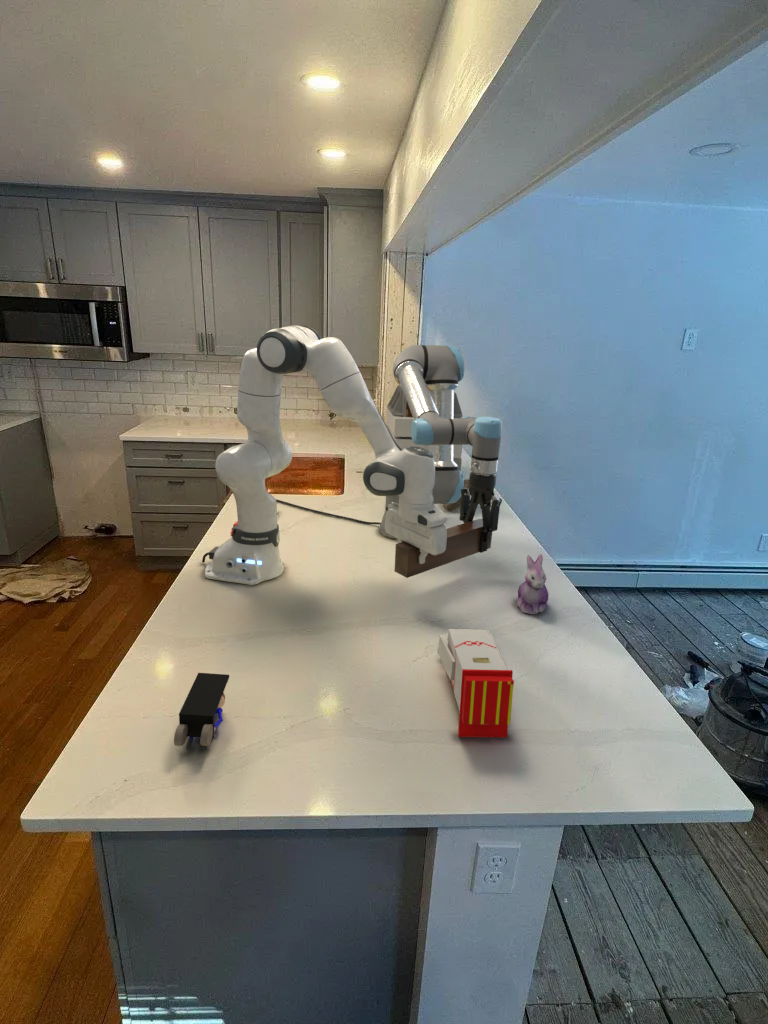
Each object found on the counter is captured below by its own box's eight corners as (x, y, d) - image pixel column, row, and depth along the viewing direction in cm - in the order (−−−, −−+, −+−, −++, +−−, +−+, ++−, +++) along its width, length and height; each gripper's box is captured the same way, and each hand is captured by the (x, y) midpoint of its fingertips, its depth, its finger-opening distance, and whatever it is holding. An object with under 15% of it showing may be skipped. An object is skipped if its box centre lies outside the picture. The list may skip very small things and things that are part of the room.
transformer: (382, 463, 289) (386, 382, 275) (445, 464, 293) (451, 384, 279) (390, 482, 257) (394, 392, 243) (460, 483, 261) (468, 394, 247)
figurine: (531, 619, 148) (539, 566, 143) (506, 601, 156) (512, 551, 151) (558, 611, 152) (567, 560, 147) (532, 595, 160) (539, 546, 155)
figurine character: (213, 763, 99) (233, 700, 112) (209, 732, 95) (230, 670, 109) (174, 763, 99) (198, 699, 112) (169, 731, 95) (194, 669, 109)
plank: (394, 571, 152) (395, 543, 149) (477, 542, 173) (480, 518, 170) (407, 578, 148) (408, 550, 145) (490, 548, 169) (493, 523, 166)
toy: (488, 613, 130) (523, 677, 101) (484, 667, 133) (517, 744, 104) (435, 612, 130) (455, 676, 101) (432, 666, 133) (451, 743, 103)
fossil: (437, 485, 243) (466, 466, 238) (450, 501, 245) (479, 483, 240) (436, 507, 223) (469, 487, 218) (450, 525, 226) (482, 505, 221)
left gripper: (380, 501, 152) (378, 548, 156) (434, 523, 137) (430, 575, 142) (397, 497, 156) (395, 543, 160) (452, 518, 141) (448, 568, 146)
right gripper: (450, 467, 165) (444, 541, 172) (500, 482, 152) (491, 561, 160) (468, 463, 169) (461, 536, 177) (517, 478, 157) (507, 555, 164)
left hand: (412, 558), depth 151 cm, fingers closed on plank, 5 cm apart
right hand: (475, 548), depth 168 cm, fingers closed on plank, 5 cm apart
